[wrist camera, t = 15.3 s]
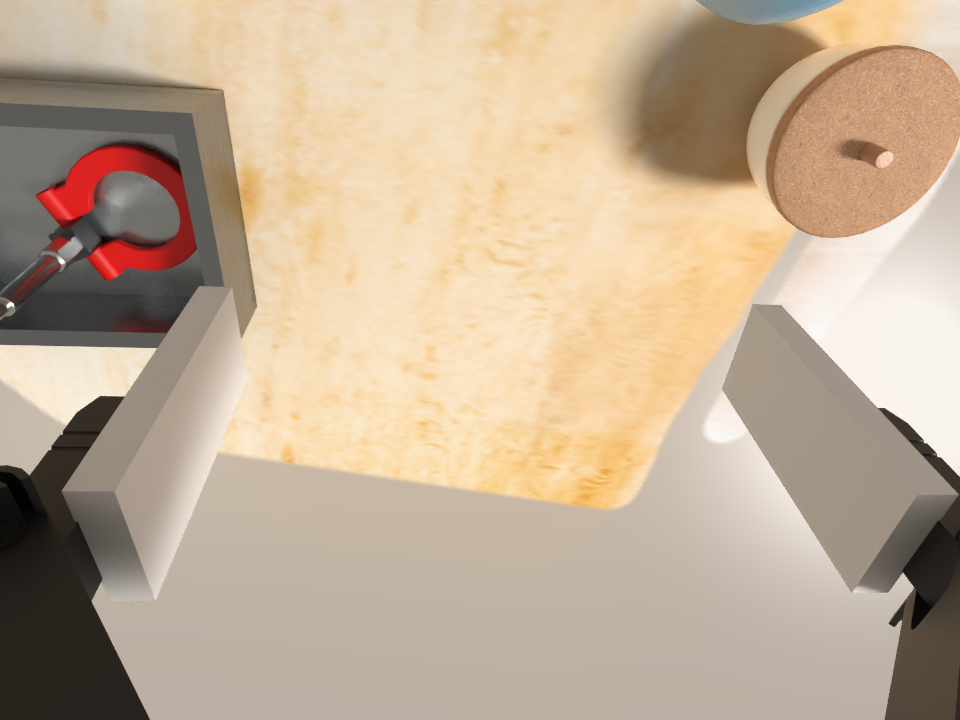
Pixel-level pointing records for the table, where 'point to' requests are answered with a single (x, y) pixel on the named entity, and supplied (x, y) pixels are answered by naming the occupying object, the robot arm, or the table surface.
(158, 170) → the tow hook
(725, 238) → the table surface
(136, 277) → the grey open box
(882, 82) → the lidded jar
